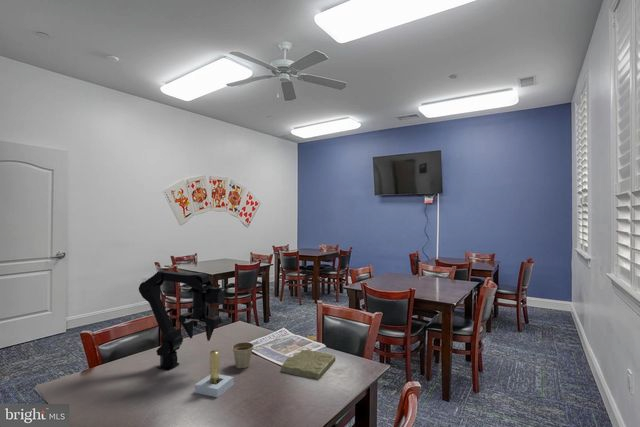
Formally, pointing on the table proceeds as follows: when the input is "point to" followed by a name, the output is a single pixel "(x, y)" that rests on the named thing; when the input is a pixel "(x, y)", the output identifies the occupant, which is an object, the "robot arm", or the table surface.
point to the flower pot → (242, 354)
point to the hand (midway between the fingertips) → (199, 339)
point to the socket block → (214, 386)
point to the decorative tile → (308, 364)
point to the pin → (214, 367)
